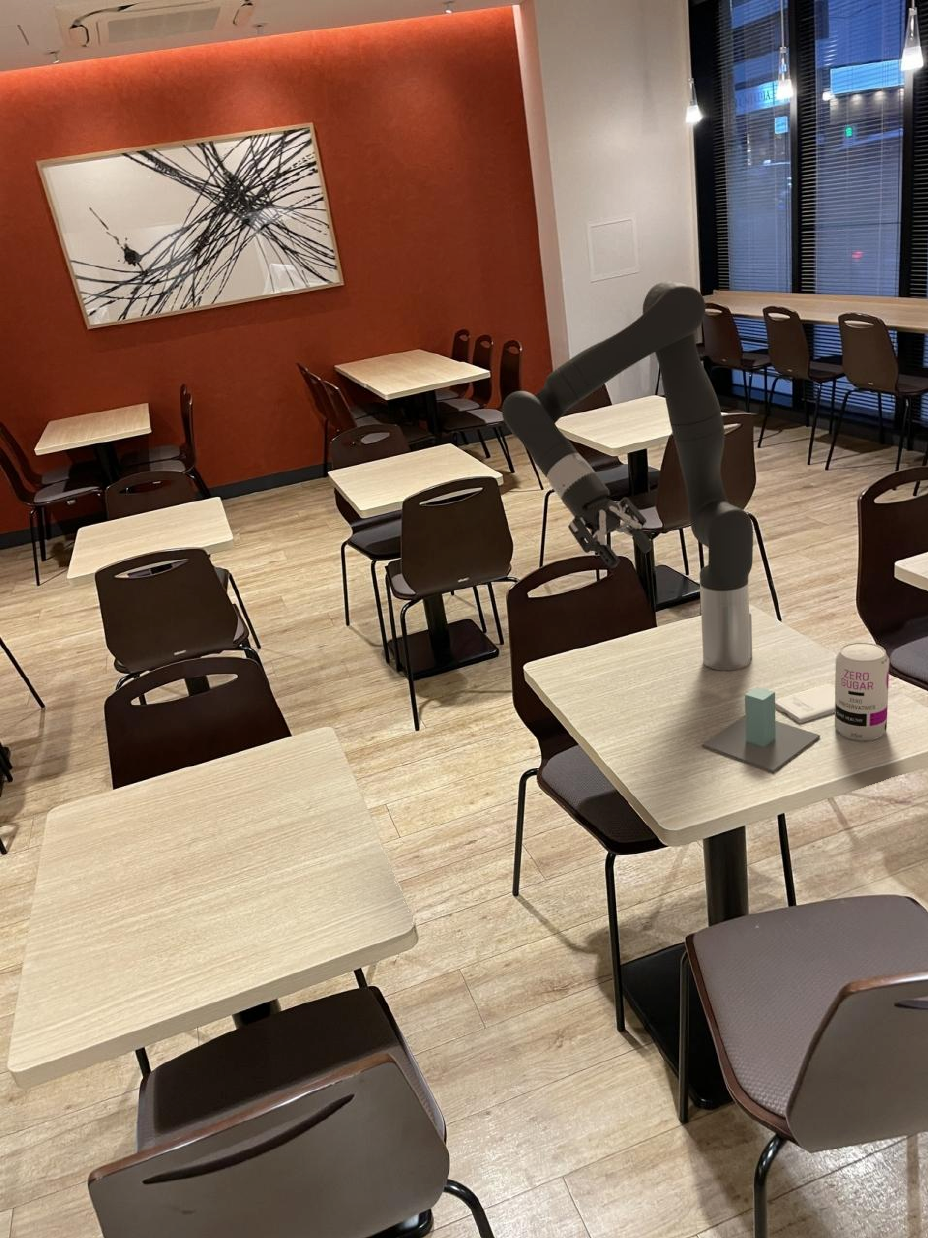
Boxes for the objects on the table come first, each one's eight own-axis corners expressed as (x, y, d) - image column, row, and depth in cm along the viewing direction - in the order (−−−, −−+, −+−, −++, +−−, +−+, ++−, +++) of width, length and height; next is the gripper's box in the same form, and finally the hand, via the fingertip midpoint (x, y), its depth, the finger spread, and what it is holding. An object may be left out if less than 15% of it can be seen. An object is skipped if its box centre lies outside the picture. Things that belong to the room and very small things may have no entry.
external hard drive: (858, 707, 169) (799, 725, 166) (827, 689, 176) (771, 707, 173) (858, 699, 168) (800, 717, 165) (827, 682, 176) (771, 699, 173)
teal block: (757, 732, 164) (756, 686, 160) (775, 738, 161) (775, 691, 158) (746, 740, 162) (744, 694, 158) (764, 747, 159) (763, 700, 156)
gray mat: (748, 714, 171) (748, 712, 171) (819, 737, 160) (820, 735, 160) (701, 746, 163) (701, 744, 163) (773, 772, 153) (773, 770, 152)
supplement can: (877, 717, 164) (880, 639, 159) (893, 741, 157) (896, 659, 151) (829, 720, 165) (830, 643, 160) (842, 744, 158) (843, 663, 152)
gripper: (558, 482, 157) (616, 558, 153) (615, 462, 165) (671, 533, 161) (539, 509, 163) (594, 582, 159) (595, 488, 171) (648, 557, 167)
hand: (632, 557), depth 160 cm, fingers open, 8 cm apart
